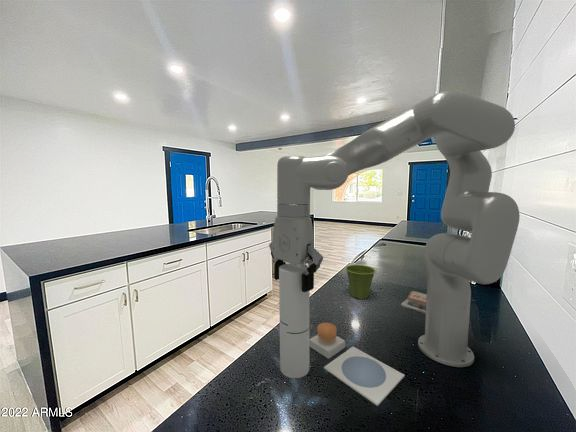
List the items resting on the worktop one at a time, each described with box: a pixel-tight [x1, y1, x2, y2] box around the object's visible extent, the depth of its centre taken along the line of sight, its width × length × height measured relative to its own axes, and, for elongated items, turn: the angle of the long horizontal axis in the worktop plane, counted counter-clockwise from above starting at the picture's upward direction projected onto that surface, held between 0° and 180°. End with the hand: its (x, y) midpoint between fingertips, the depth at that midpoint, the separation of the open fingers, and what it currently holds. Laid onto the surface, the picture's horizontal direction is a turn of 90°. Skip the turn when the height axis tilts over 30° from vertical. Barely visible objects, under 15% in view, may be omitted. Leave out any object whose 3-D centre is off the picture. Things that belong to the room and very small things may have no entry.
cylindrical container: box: [278, 263, 311, 379], centre depth 59 cm, size 7×7×25 cm
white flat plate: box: [323, 346, 405, 407], centre depth 58 cm, size 12×14×1 cm
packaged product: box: [400, 290, 427, 315], centre depth 89 cm, size 18×5×10 cm
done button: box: [316, 322, 338, 340], centre depth 67 cm, size 5×5×2 cm
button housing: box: [309, 333, 346, 360], centre depth 68 cm, size 7×7×2 cm
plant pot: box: [344, 264, 377, 300], centre depth 101 cm, size 12×12×11 cm
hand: (293, 284), depth 58 cm, fingers open, 9 cm apart
